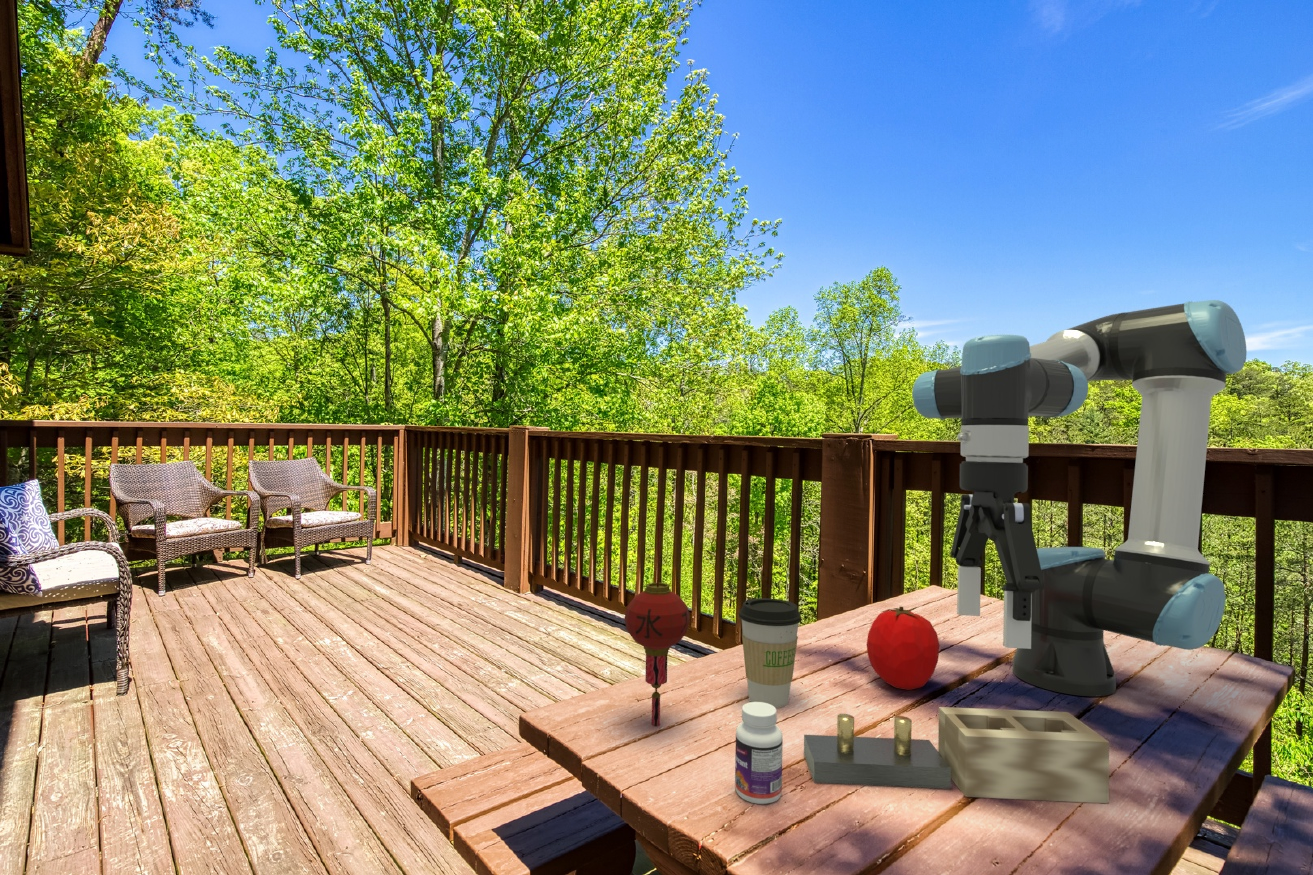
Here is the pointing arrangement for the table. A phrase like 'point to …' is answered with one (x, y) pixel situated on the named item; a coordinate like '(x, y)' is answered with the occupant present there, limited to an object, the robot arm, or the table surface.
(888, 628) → the tomato
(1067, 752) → the cinder block
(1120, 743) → the table surface
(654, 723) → the lantern
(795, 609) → the coffee cup
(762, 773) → the pill bottle
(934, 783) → the post rail
